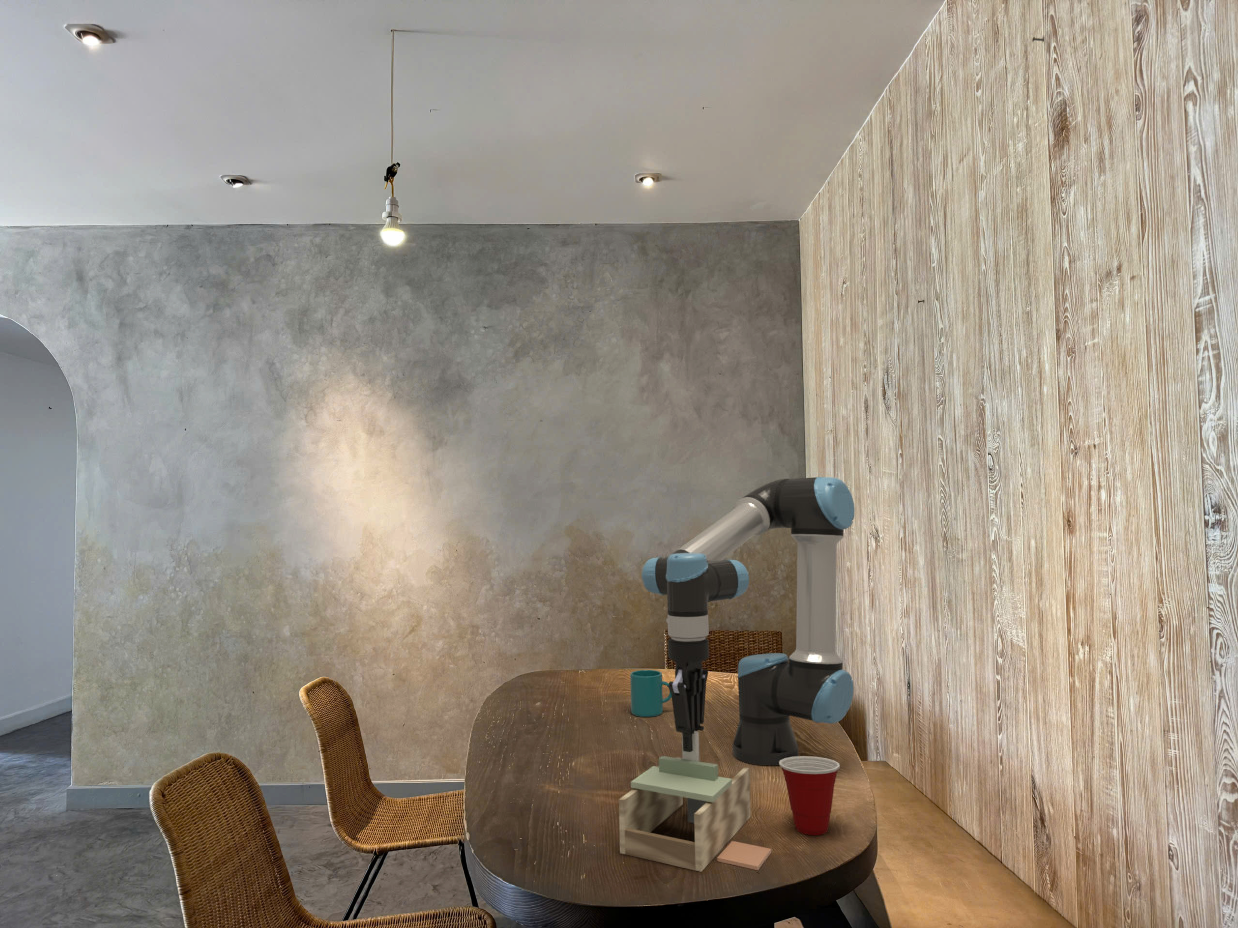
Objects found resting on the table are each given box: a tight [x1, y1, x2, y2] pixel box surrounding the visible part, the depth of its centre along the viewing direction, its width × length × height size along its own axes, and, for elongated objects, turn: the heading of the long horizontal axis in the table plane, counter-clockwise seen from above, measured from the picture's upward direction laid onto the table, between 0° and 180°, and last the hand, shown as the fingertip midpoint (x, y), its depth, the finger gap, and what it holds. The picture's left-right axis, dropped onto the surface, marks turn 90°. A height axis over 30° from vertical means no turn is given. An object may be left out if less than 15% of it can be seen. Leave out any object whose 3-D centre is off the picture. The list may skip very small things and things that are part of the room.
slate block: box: [686, 798, 708, 824], centre depth 144 cm, size 4×4×8 cm
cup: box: [629, 669, 672, 718], centre depth 218 cm, size 9×12×11 cm
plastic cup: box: [778, 755, 841, 836], centre depth 140 cm, size 11×11×12 cm
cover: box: [630, 755, 732, 802], centre depth 136 cm, size 9×16×3 cm, turn 61°
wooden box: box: [618, 756, 751, 872], centre depth 138 cm, size 24×15×9 cm, turn 151°
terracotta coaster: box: [716, 840, 772, 871], centre depth 129 cm, size 7×7×1 cm
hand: (691, 767), depth 140 cm, fingers closed
